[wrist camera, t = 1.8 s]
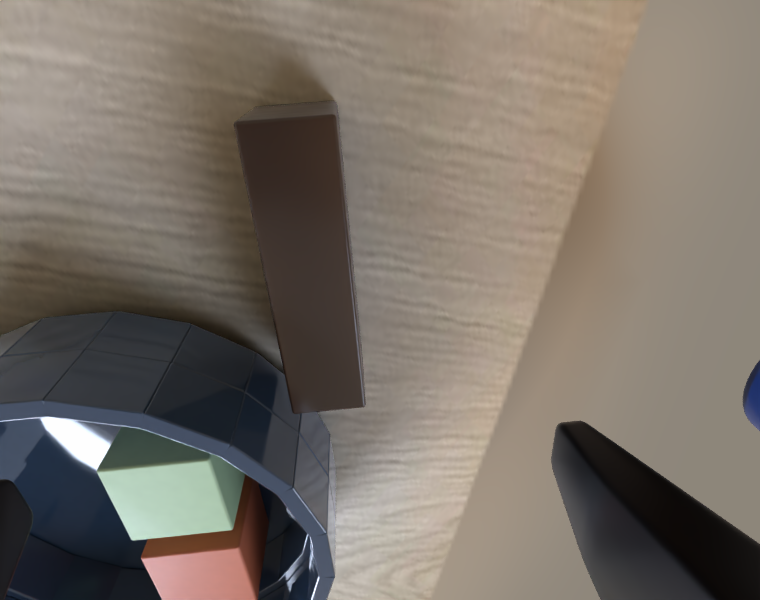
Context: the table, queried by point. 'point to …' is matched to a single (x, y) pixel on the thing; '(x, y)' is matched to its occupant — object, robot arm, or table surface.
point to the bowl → (164, 418)
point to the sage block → (168, 486)
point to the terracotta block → (213, 556)
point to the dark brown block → (305, 249)
